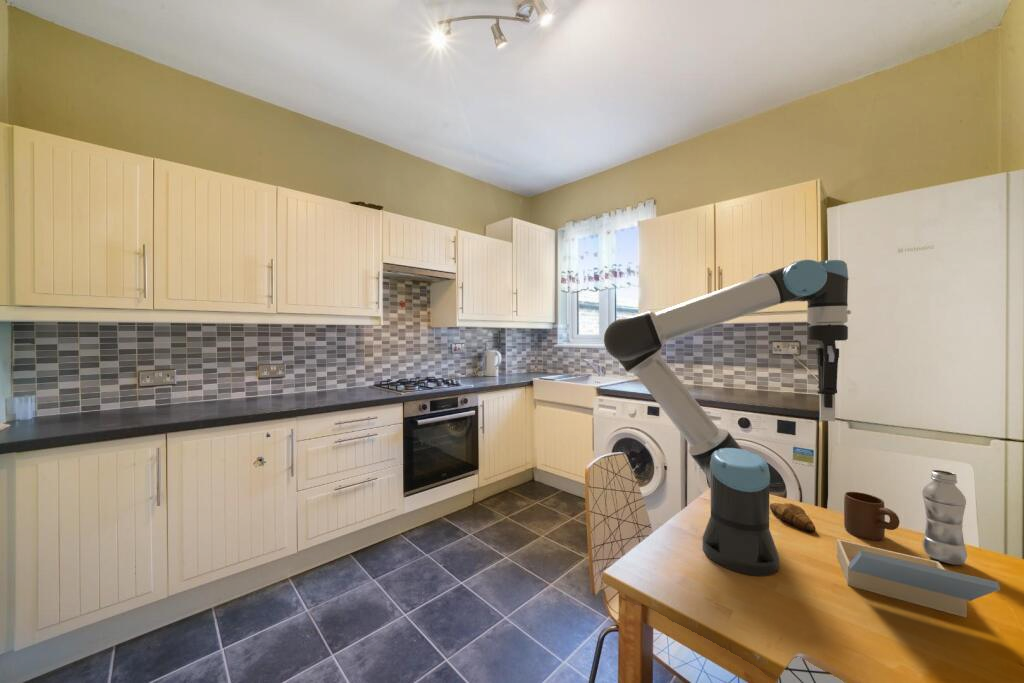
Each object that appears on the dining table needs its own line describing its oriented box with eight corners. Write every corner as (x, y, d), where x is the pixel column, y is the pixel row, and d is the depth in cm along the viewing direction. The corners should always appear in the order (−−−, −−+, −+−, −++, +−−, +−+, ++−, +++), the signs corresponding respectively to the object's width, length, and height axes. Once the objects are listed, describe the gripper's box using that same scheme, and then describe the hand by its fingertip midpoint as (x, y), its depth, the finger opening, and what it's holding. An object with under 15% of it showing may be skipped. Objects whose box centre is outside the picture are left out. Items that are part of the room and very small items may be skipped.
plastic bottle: (977, 570, 79) (977, 478, 79) (940, 567, 80) (940, 477, 80) (947, 553, 86) (947, 468, 86) (913, 550, 87) (913, 466, 87)
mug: (913, 551, 87) (913, 512, 86) (882, 552, 86) (882, 512, 86) (863, 525, 99) (863, 491, 98) (836, 526, 98) (836, 491, 98)
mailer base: (848, 585, 75) (848, 565, 75) (836, 556, 85) (836, 538, 85) (966, 617, 66) (966, 595, 66) (938, 580, 76) (938, 561, 76)
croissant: (826, 533, 95) (826, 514, 95) (802, 535, 94) (802, 515, 94) (782, 509, 108) (782, 492, 108) (761, 510, 108) (761, 493, 108)
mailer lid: (848, 564, 74) (849, 569, 74) (860, 550, 66) (861, 556, 66) (968, 594, 65) (970, 600, 65) (998, 582, 58) (1000, 589, 57)
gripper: (853, 323, 83) (853, 427, 83) (842, 325, 93) (842, 417, 93) (810, 324, 87) (811, 423, 87) (804, 325, 98) (804, 414, 98)
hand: (827, 420), depth 90 cm, fingers closed
